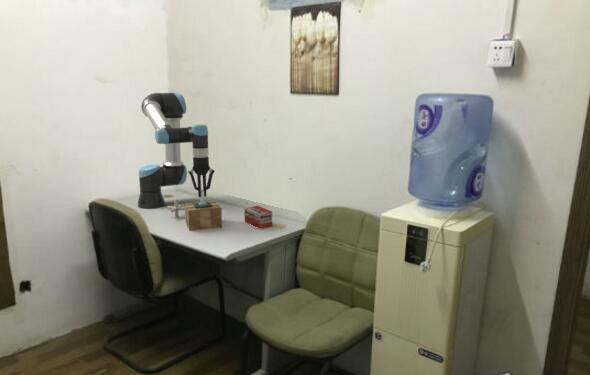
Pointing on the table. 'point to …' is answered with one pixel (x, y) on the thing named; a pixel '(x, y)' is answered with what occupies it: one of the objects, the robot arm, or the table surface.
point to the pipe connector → (176, 208)
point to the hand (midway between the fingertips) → (202, 203)
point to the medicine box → (258, 216)
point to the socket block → (203, 217)
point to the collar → (202, 206)
